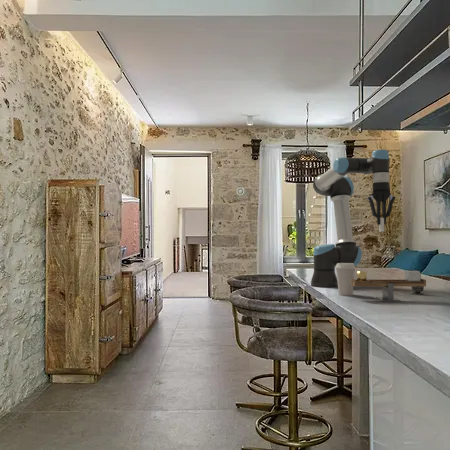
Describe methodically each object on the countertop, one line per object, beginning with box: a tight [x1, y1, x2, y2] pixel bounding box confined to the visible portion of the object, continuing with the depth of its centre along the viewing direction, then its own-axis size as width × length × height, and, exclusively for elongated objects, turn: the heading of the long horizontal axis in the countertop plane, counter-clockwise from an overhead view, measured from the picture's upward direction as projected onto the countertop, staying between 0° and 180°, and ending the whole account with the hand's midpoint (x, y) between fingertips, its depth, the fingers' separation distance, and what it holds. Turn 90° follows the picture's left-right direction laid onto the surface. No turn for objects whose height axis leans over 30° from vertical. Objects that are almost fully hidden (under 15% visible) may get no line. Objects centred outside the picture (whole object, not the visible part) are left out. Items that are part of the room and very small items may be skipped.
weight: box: [356, 270, 368, 281], centre depth 182 cm, size 4×4×5 cm
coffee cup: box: [335, 263, 357, 297], centre depth 198 cm, size 10×10×15 cm
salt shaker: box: [410, 269, 425, 296], centre depth 199 cm, size 6×6×12 cm
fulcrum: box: [375, 283, 401, 303], centre depth 180 cm, size 9×8×8 cm
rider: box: [404, 270, 421, 281], centre depth 180 cm, size 5×5×5 cm
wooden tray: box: [351, 278, 427, 287], centre depth 180 cm, size 7×30×3 cm, turn 85°
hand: (381, 231), depth 196 cm, fingers closed
